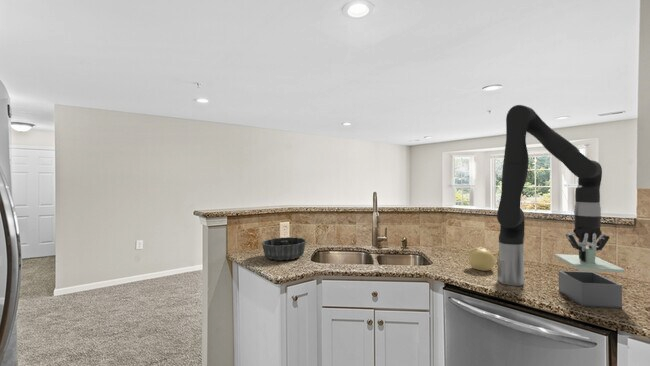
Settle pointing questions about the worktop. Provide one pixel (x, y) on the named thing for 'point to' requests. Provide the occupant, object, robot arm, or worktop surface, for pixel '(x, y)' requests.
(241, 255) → the worktop surface
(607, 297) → the tub
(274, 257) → the bundt pan
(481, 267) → the sculpture
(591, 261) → the lid
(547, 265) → the worktop surface
